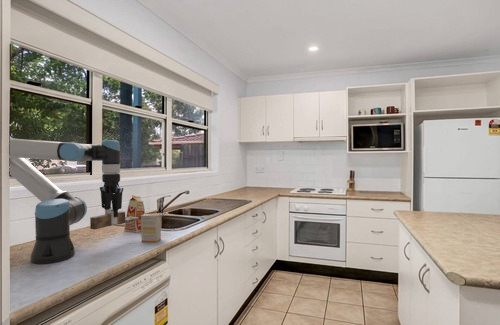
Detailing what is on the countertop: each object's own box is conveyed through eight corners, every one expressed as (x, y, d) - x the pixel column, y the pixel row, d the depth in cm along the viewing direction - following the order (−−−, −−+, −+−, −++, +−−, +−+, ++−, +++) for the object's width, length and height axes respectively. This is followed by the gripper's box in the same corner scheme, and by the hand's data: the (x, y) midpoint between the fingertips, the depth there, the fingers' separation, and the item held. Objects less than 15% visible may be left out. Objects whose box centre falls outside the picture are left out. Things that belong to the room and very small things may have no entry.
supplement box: (161, 239, 146) (161, 213, 146) (157, 242, 141) (157, 215, 141) (145, 239, 147) (145, 213, 147) (141, 241, 142) (140, 215, 142)
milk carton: (137, 232, 160) (136, 196, 160) (123, 231, 163) (123, 195, 163) (147, 228, 169) (147, 194, 168) (134, 227, 172) (134, 193, 171)
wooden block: (97, 230, 126) (97, 218, 126) (88, 228, 128) (88, 217, 128) (139, 219, 146) (139, 209, 146) (130, 218, 149) (130, 208, 149)
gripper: (130, 173, 135) (130, 223, 135) (106, 172, 142) (107, 220, 143) (116, 174, 128) (116, 227, 129) (92, 173, 135) (92, 223, 136)
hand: (111, 223), depth 136 cm, fingers closed on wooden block, 3 cm apart
